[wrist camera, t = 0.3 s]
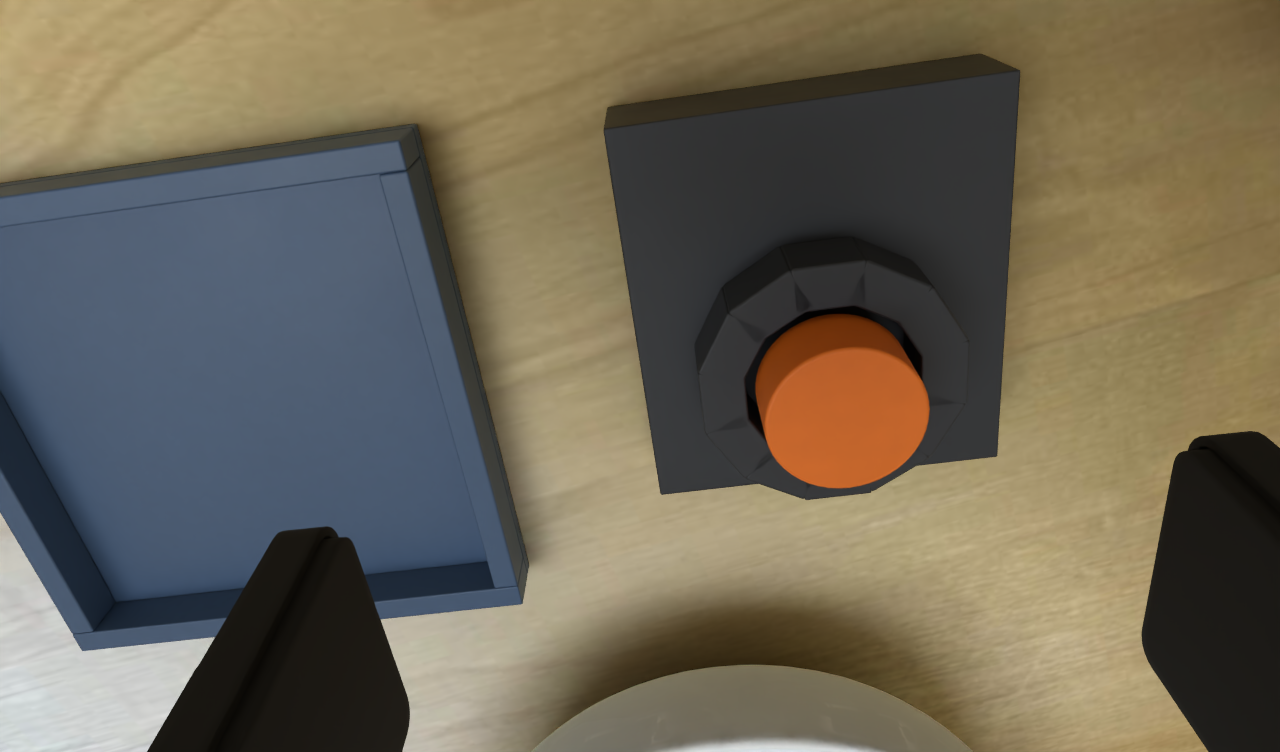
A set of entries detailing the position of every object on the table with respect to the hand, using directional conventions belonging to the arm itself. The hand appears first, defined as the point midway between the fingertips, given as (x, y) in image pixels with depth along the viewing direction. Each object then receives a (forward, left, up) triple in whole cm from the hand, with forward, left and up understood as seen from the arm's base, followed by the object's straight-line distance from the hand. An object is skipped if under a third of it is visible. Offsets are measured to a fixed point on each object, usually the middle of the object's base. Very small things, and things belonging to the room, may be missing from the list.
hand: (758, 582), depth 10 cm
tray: (+5, -15, -16) cm, 23 cm away
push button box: (+3, +3, -16) cm, 17 cm away
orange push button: (+4, +3, -12) cm, 14 cm away
